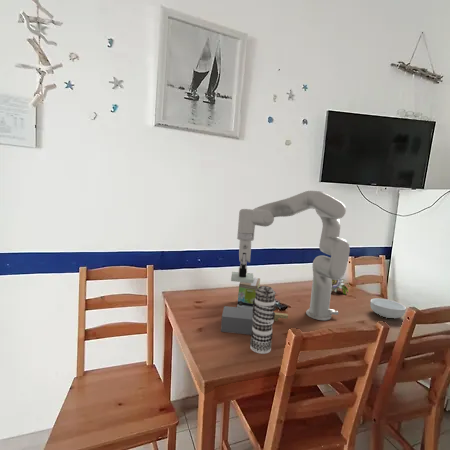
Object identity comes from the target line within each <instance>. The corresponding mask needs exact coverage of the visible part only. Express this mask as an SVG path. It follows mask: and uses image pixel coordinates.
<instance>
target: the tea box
mask: <svg viewBox="0 0 450 450" xmlns="http://www.w3.org/2000/svg"><path fill="white" fill-rule="evenodd" d="M253 278H254V283H247V282H239V284H238V285H239V286H238V295H237V305H236V307H238V308H248V309H253V305H254V304H253V300H254V299H255V297H256V292H255V290H256V289H258V288H259V287H260V286H261V278H258V277H253Z"/></svg>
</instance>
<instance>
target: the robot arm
mask: <svg viewBox="0 0 450 450" xmlns="http://www.w3.org/2000/svg"><path fill="white" fill-rule="evenodd" d="M309 209H312V210H315V213H316V214H317V215H318V216H319V217H320V220H321V223H322V230H321V235H320V239H319V245H318V247H319V250H320V252H322V253H323V254H326V255H329V256H330V257H329V256H326V255H318V256H316V257H315V258H314V259H313V261H312V284H311V294H310V302H309V308H308V309H307V310H306V311H305V312H306V316H307V317H308V318H311V319H314V320H317V321H329V320H331V319H332V315H336V316H339V311H338V310H335V309H331V308H330V303H331V295H332V292H331V288H332V279H333V280H339V279H343V277H344V276H345V275H346V271H347V266H348V262H349V257H350V252H351V249H350V244H349V242H348V241H347V240H346V239H344V238H342V237H340V233H341V221H340V220H341V219H342V218H344V216H345V215H346V212H347V208H346V205H345V204H344V203H343V201H340V200H338V199H336V198H335V197H333V196H331V195H329V194H328V193H326V192H323V191H320V190H306V191H303V192H300V193H298V194H295V195H293V196H290V197H287V198H283V199H280V200H277V201H273V202H269V203H265V204H262V205H260V206H257V207H255V208H253V209H251V208H241V209H240V210H239V214H238V224H237V226H238V227H237V237H236V239H237V240H239V245H238V249H239V250H238V257H239V260H238V261H239V262H240V263H239V267H240V270H239V269H238V272H239V277H246V272H247V273H248V267H247V266H248V265H247V264H248V263H251V253H252V242H253V241H254V239H255V229H256V226H259V227H264V228H265V227H266V228H267V227H269V226H271V225H272V224H273V223H274V221H275V218H280V217H283V218H284V217H285V218H286V217H292V216H295V215H298V214H300V213H302V212H303V213H304V212H305V211H307V210H309Z"/></svg>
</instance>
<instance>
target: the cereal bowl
mask: <svg viewBox="0 0 450 450" xmlns="http://www.w3.org/2000/svg"><path fill="white" fill-rule="evenodd" d="M369 307H370V309H371V310H372V311H373V312H374V313H375V314H377V315H378V314H379V315H380V317H381V316H383V317H386V318H385V319H387V318H394V319H399V318H402V317H403V316H404V315H405V313H406V310H407V307H406V305H404V304H402V303H400V302H398V301H395V300H391V299H388V298H382V297H381V298H378V297H377V298H375V297H374V298H371V299H370V306H369ZM379 315H378V316H379ZM383 317H382V318H383Z"/></svg>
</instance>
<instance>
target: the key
mask: <svg viewBox="0 0 450 450" xmlns="http://www.w3.org/2000/svg"><path fill="white" fill-rule="evenodd" d="M273 312H274V313H275V315H274V319H273V320H274V322H279V319H285V320H288V318H289V314H288V313H282V312H275V311H273Z"/></svg>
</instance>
